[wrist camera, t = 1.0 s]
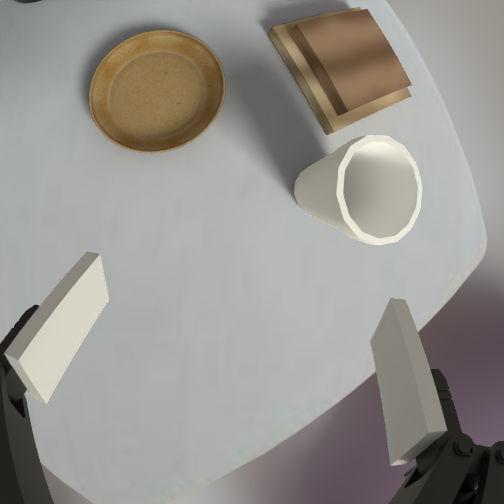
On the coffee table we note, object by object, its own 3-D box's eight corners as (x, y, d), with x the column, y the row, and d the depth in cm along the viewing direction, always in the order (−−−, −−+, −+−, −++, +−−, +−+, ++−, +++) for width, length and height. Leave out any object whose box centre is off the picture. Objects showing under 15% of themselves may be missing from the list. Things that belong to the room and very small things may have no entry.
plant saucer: (104, 41, 28) (101, 31, 26) (226, 43, 32) (230, 33, 29) (87, 157, 30) (81, 154, 28) (218, 158, 34) (221, 155, 32)
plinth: (267, 34, 32) (278, 17, 28) (352, 12, 34) (368, -1, 30) (326, 134, 36) (344, 128, 32) (402, 99, 38) (422, 92, 34)
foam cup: (359, 170, 38) (430, 163, 26) (339, 239, 39) (406, 257, 26) (294, 140, 36) (352, 116, 23) (270, 214, 36) (321, 223, 24)
